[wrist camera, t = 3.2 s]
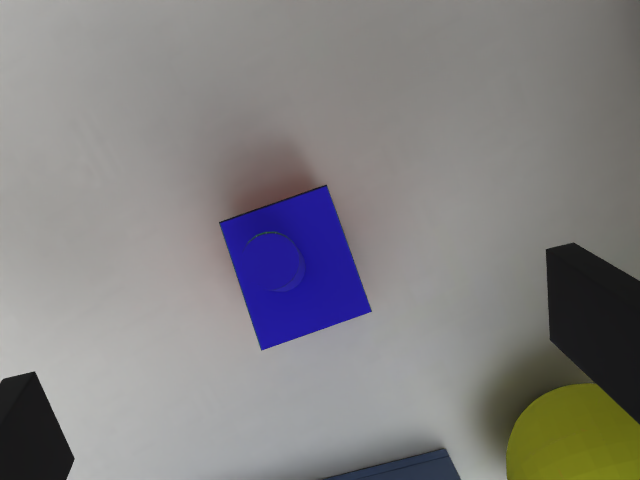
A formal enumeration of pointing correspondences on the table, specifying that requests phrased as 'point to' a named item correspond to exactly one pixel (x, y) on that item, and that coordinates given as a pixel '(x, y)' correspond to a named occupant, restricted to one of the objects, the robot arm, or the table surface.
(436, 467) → the blue bin
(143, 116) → the table surface
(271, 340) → the toy building block
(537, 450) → the ornament
